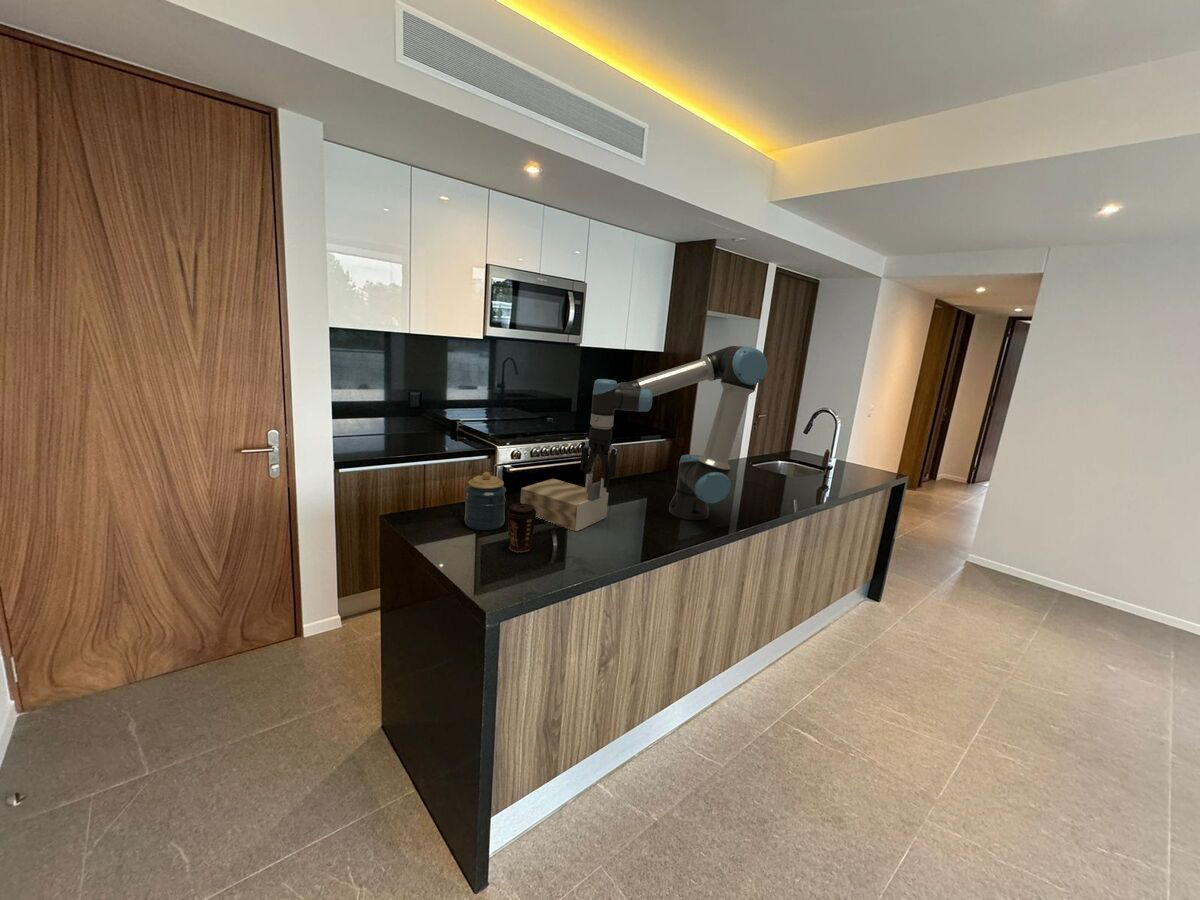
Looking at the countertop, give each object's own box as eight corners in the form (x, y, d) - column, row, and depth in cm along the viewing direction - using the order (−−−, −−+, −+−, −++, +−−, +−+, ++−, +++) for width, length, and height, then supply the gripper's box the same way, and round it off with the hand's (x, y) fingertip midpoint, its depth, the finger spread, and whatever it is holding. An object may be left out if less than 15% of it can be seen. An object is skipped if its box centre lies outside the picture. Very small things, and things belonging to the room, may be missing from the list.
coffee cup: (515, 539, 155) (517, 499, 152) (539, 545, 152) (542, 505, 149) (500, 549, 147) (502, 508, 144) (524, 556, 144) (527, 514, 141)
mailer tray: (608, 518, 179) (612, 478, 176) (579, 532, 164) (583, 489, 161) (554, 501, 192) (556, 464, 189) (522, 512, 177) (525, 472, 174)
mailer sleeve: (603, 517, 180) (605, 493, 178) (574, 531, 165) (576, 505, 163) (551, 500, 193) (552, 478, 191) (519, 512, 178) (521, 488, 176)
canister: (457, 527, 160) (458, 474, 156) (474, 514, 172) (476, 464, 168) (495, 533, 158) (498, 480, 154) (510, 519, 170) (512, 469, 166)
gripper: (572, 423, 166) (567, 489, 171) (619, 433, 157) (612, 503, 162) (585, 421, 172) (579, 485, 178) (631, 430, 163) (624, 498, 168)
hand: (595, 493), depth 170 cm, fingers open, 5 cm apart
